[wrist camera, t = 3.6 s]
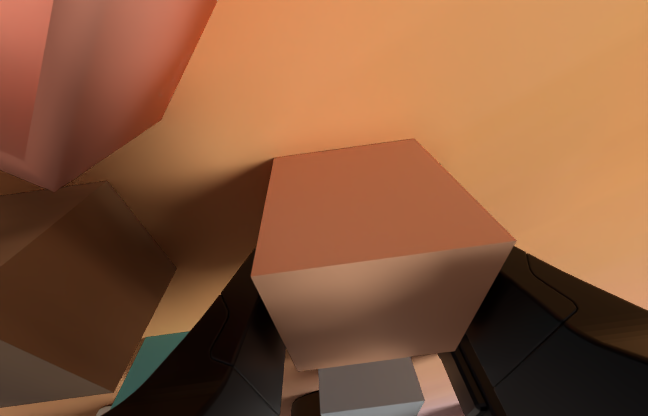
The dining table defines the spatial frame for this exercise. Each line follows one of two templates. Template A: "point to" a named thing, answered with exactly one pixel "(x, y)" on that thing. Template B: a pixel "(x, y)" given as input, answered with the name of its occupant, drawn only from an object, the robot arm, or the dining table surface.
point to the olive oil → (307, 405)
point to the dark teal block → (148, 362)
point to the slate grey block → (371, 389)
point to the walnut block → (73, 291)
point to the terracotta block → (372, 255)
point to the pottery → (87, 78)
